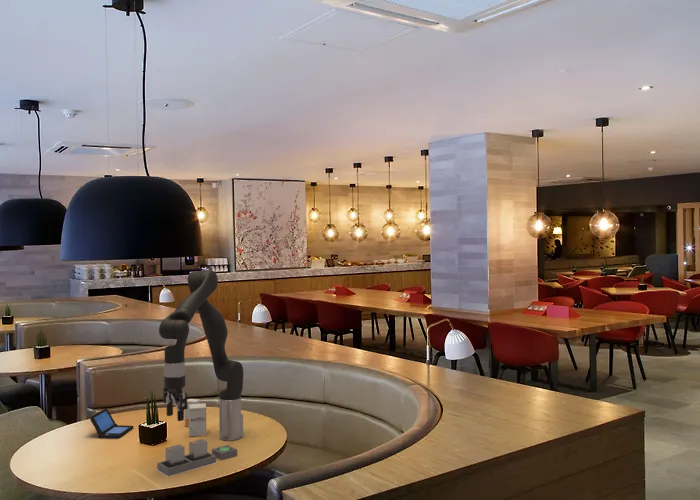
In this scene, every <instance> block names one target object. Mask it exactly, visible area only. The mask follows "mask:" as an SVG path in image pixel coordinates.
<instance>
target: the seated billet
mask: <svg viewBox="0 0 700 500" xmlns="http://www.w3.org/2000/svg"><path fill="white" fill-rule="evenodd" d="M207 452H208V440H205V439H203V438H200V439H195V440H192V441H189V442H188V455H189V460H191V461H192V462H193V461H197V460H200V459H204V458H207Z"/></svg>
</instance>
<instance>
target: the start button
mask: <svg viewBox="0 0 700 500" xmlns="http://www.w3.org/2000/svg"><path fill="white" fill-rule="evenodd" d="M220 447H221V448H220V449H219V451H221V452H225V451H228V450H230V448H229V447H222V446H220Z"/></svg>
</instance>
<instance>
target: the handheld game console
mask: <svg viewBox="0 0 700 500" xmlns="http://www.w3.org/2000/svg"><path fill="white" fill-rule="evenodd" d="M89 420H90V422H91V424H92V425H93V427H94V429H95V430H96V431H97V433H98V438H99V439H114V440H115V439H120V438H122V437H124V436H125V435H126V434H128V433H129V432H130V431H132V430H133V429H134V427H135V426H134V425H124V424H123V425H121V424H120V425H119V424H118V423H116V421H115V420H114V419H113V417H112V414H111V412H110V411H109V410H108V408H104V409H101V411H99V412H97V413H95V414H93V415H92V416H90V418H89Z"/></svg>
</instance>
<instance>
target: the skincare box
mask: <svg viewBox="0 0 700 500" xmlns="http://www.w3.org/2000/svg"><path fill="white" fill-rule="evenodd" d="M189 404H201V399H198V398H187V409H185V410H184V427H188V428H189Z"/></svg>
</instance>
